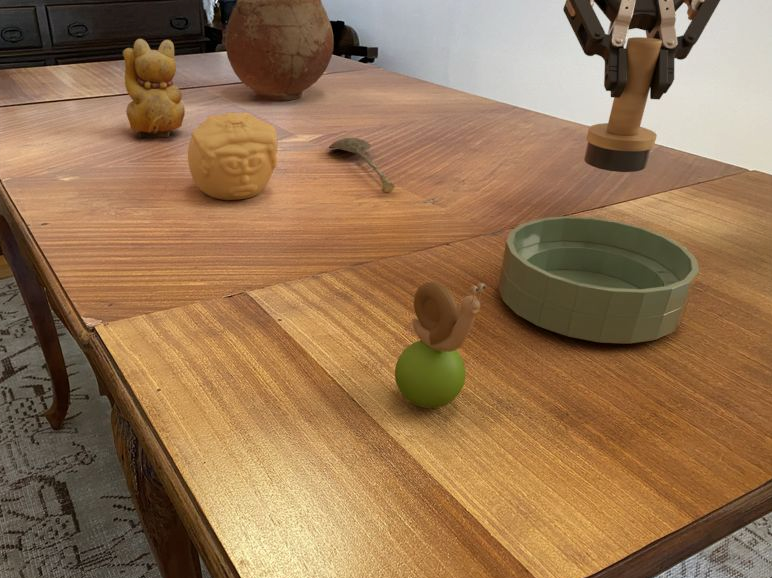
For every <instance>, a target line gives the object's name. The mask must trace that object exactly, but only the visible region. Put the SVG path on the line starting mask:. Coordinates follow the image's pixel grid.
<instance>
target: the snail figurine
mask: <svg viewBox="0 0 772 578" xmlns="http://www.w3.org/2000/svg"><path fill="white" fill-rule="evenodd" d="M484 290H486V284H485V283H484V282H480V283H478V284H477V285H475V284H473V285H472V286H471V287H470V289H469V291H470V292H471V293H472V295H466V296H464V297H463V298H462V299H461V301H460V306H458V302H457V300H456V299H455V296H454V295H453V293H452V292H451V291H450V290H449V288H447V286H445V285H444V284H442V283H440V282H437V281H426V282H424V283H422V284H421V285H420V286H419V287H418V288H417V290H416V291H415V294H414V297H413V308H414V313H415V316H416V318H412V320H411V323H412V327H413V330H414V332H415V334H416V336H417V337H418V339H419V340H417V341H415V342H413V343H411V344H409V345H408V346H407V347H406V348H404V349H403V351H402V352H401V353H400V355H399V356H398V358H397V361H396V362H395V363H396V364H395V367H394V368H395V369H394V379H395V383H396V386H397V389H398V390H399V392H400V394H401V395H402V396H403V397H404V398H405V400H406V401H408V402H409V403H411V404H412V405H414V406H416V407H419V408H422V409H437V408H442V407H444V406H446V405H449V404H451V403H452V402H454V400H455V399H456V398H457V397H458V396H459V394H460V393H461V392H462V389H463V388H464V385H465V380H466V367H465V363H464V360H463V358H462V356H461V355H460V353H459V352H458V351H457V350H458V349H460V348H461V347H462V346H463V345H464V343H465V342H466V340H467V339H468V337H469V335H470V333H471V331H472V328H473V325H474V323H475V318H476V316H477V314H478V313H479V312H480V308H481V302H480V300H481V297H482V293H483V292H482V291H484ZM478 292H479V297H476V296H475V295H476V294H477V293H478ZM459 308H460V310H459Z"/></svg>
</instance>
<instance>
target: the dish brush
mask: <svg viewBox="0 0 772 578" xmlns="http://www.w3.org/2000/svg"><path fill="white" fill-rule="evenodd" d="M627 38H628V39H627V40H626V41H627V42H626V45H625V48H627V81H626V87H625V89H624V91H623V93H622V94H621V96H620V98H615V97H613V101H612V105H611V110H610V113H609V118H608V122H606V123H605V122H604V123H597V124H593V125H590V126H589V127H588V130H587V135H586V141H587V144H586V149H585V152H584V153H585V154H584V158H583V160H584V162H585V163H586V164H587V165H589V166H591V167H593V168H596V169H599V170H603V171H609V172H616V173H634V172H639V171H643V170H644V169H646V167H647V164H648V161H649V157H650V153H651V149H653V148H654V146H655V143H656V140H657V134H656V132H655V131H653V130H651V129H648V128H646V127H644V126H643V127H642V126H641V125H642V120H643V116H644V113H645V109H646V104H647V101H648V98H649V95H650V86H651V82H652V78H653V75H654V71H655V67H656V63H657V59H658V55H659V51H660V48H661V44H662V41H661V40H659V39H654V38H647V37H642V36H641V37H639V36H638V37H637V36H636V37H627Z"/></svg>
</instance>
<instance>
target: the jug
mask: <svg viewBox="0 0 772 578" xmlns="http://www.w3.org/2000/svg"><path fill="white" fill-rule="evenodd" d="M235 2H236V3H235V4H234V7H233V9H232V11H231V13H230V16H229V19H228V21H227V25H226V31H225V41H224V42H225V51H226V56H227V60H228V61H229V64H230V67H231V68H232V71H233V73H234V74H235V76H236V77H237V78H238V79H239V80H240V82H241V83H242V84H243V85H245V86H246V87H248V88H249V89H250V90H251V91H254V92H255V96H256V97H257V98H258V99H260V100H263V101H272V102H273V101H275V102H277V101H278V102H285V101H286V102H287V101H293V100H298V99H300V98H301V97H302V96H303V92H304V91H306V90H307V89H309V88H310V87H312V86H313V85H314V84H316V83H317V82H318V80H319V79H321V77H322V76H323V75H324V73H325V72H326V70H327V68H328V66H329V65H330V61H331V59H332V58H333V57H332V56H333V52H334V46H335V42H334V33H333V28H332V24H331V21H330V18H329V15H328V13H327V11H326V9H325V7H324V5H323V3H322V0H236V1H235Z"/></svg>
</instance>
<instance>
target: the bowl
mask: <svg viewBox="0 0 772 578" xmlns="http://www.w3.org/2000/svg"><path fill="white" fill-rule="evenodd" d="M501 263H502V264H501V268H500V275H499V280H498V286H497V289H498V292H499V295H500V297H501V300H502V302H503V303H504V304H505V305H506V306H508V307H509V308H510V309H511V311H512V312H513V313H514V314H516V315H517V316H519V317H521V318H522V319H524V320H526V321H528V322H530V323H532V324H533V325H535V326H537V327H539V328H542V329H545V330H547V331H551V332H553V333H555V334H559V335H562V336H565V337H569V338H573V339H578V340H585V341H589V342H595V343H603V344H629V345H630V344H637V343H645V342H650V341H655V340H658V339H660V338H663V337H665V336H668V335H670V334H672V333H675V331H676V330H677V329H678V327H679V326H680V324H681V323H682V322H683V321H684V317H685V314H686V311H687V308H688V305H689V302H690V300H691V297H692V294H693V290H694V287H695V285H696V281H697V280H698V279H697V278H698V275H699V273H700V269H699V263H698V258H697V257H696V256H695V255H694V254H692V252H691V251H689V249H688V248H687V247H686V246H684V245H682V244H681V243H679V242H677V241H675V240H674V239H672V238H670V237H668V236H666V235H664V234H661V233H659V232H655V231H653V230H651V229H648V228H645V227H642V226H639V225H635V224H631V223H626V222H623V221H618V220H613V219H606V218H599V217H591V216H567V215H565V216H563V215H562V216H551V217H540V218H537V219H536V218H535V219H533V220H530V221H525V222H522V223H520V224H519V225H517V226H516V227H514V228H513V229H511V230H510V231H509V233H508V235H507V238H506V241H505V246H504V251H503V258H502V262H501Z"/></svg>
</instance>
